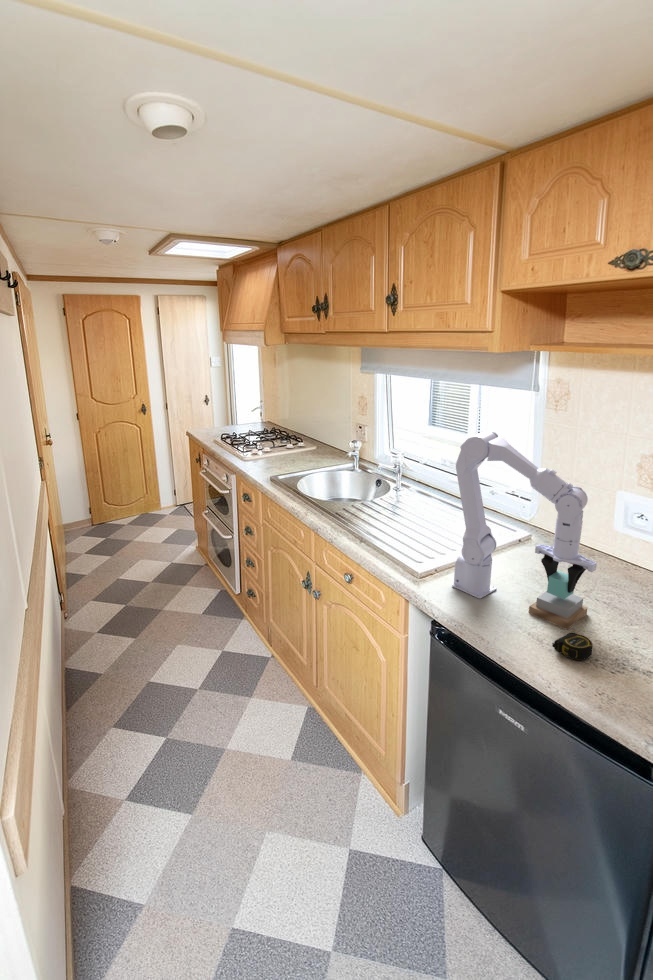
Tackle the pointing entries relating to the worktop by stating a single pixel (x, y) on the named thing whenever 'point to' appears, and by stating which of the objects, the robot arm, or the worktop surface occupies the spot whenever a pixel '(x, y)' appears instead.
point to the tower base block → (556, 618)
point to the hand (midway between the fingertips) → (560, 587)
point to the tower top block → (559, 604)
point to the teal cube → (558, 585)
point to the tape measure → (574, 646)
